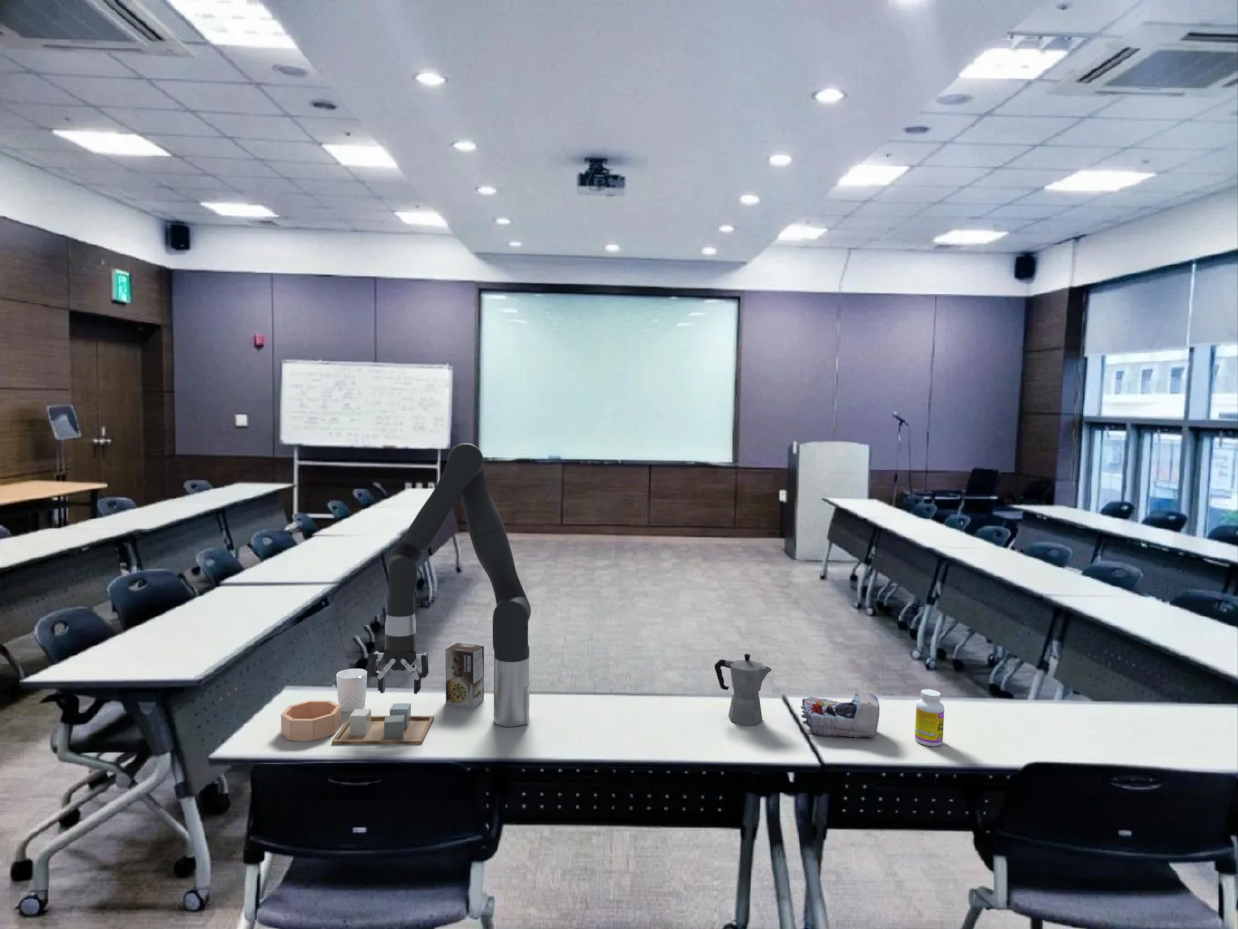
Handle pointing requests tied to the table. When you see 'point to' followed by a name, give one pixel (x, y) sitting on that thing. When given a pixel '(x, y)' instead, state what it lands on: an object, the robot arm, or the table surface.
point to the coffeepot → (744, 689)
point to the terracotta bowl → (310, 720)
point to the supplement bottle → (929, 718)
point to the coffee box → (464, 674)
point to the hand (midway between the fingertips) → (399, 692)
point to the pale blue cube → (402, 712)
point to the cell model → (842, 715)
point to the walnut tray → (376, 734)
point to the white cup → (351, 689)
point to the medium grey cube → (394, 727)
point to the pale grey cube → (360, 722)
